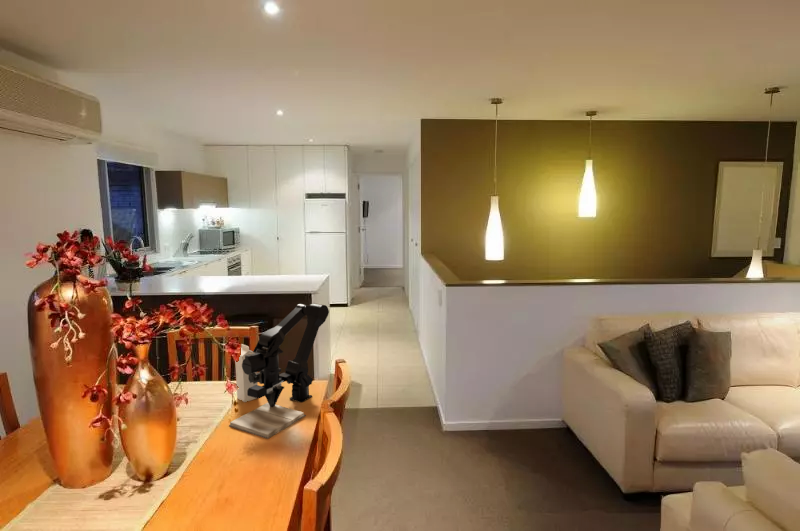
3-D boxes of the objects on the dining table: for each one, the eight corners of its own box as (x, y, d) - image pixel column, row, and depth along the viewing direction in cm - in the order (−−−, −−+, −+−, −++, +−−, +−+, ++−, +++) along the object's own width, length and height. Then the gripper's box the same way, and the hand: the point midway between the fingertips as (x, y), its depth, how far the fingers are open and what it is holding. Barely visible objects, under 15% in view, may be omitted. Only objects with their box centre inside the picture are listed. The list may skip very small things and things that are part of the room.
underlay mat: (268, 405, 177) (268, 404, 177) (305, 415, 168) (305, 415, 168) (228, 426, 161) (228, 425, 161) (267, 438, 152) (267, 438, 152)
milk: (244, 402, 180) (241, 348, 177) (237, 398, 184) (233, 345, 181) (258, 397, 184) (255, 344, 181) (250, 393, 188) (248, 341, 185)
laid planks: (255, 412, 170) (255, 409, 170) (291, 423, 162) (291, 420, 161) (230, 425, 160) (230, 422, 160) (267, 437, 152) (267, 434, 152)
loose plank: (267, 405, 176) (267, 402, 176) (303, 415, 167) (303, 412, 167) (256, 412, 171) (255, 409, 171) (292, 422, 162) (292, 419, 162)
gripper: (273, 356, 182) (274, 393, 184) (235, 370, 166) (237, 411, 168) (294, 360, 177) (295, 399, 179) (257, 376, 161) (259, 418, 163)
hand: (272, 406), depth 172 cm, fingers closed, pressing on loose plank
